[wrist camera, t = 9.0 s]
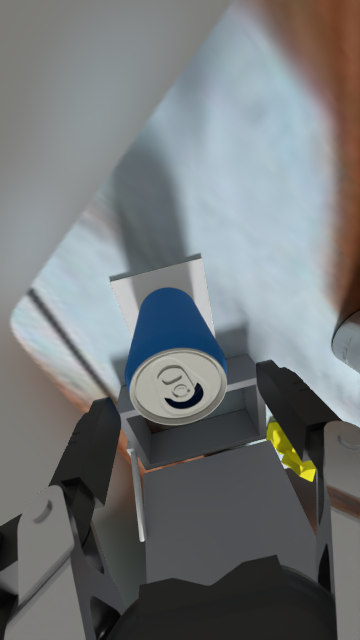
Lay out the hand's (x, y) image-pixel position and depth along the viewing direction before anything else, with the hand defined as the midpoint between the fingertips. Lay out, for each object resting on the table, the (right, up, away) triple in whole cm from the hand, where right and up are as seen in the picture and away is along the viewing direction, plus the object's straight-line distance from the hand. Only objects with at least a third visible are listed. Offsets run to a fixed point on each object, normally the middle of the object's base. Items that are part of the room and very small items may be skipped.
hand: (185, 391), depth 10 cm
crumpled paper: (+18, -16, +24) cm, 34 cm away
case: (+2, -10, +19) cm, 22 cm away
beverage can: (-2, +5, +12) cm, 13 cm away
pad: (-2, +5, +12) cm, 13 cm away
